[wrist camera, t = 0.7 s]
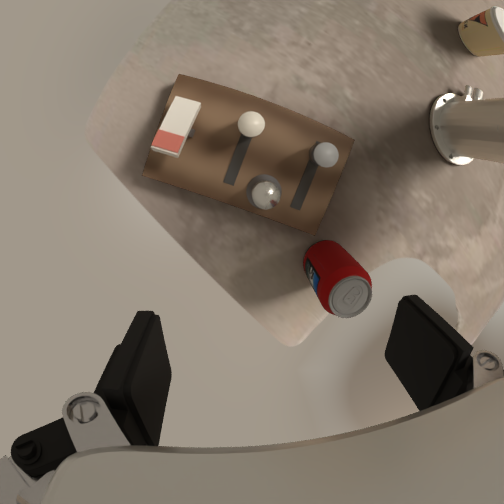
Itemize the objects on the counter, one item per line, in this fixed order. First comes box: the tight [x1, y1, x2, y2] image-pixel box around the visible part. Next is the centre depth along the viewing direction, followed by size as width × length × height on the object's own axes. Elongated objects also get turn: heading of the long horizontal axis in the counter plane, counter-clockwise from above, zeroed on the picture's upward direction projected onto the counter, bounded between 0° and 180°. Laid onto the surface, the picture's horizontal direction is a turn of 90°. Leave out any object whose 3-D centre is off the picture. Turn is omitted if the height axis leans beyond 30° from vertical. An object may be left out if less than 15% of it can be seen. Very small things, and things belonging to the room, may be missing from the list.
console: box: [142, 74, 354, 236], centre depth 34 cm, size 14×24×5 cm, turn 69°
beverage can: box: [303, 240, 372, 318], centre depth 36 cm, size 7×7×12 cm
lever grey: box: [309, 142, 339, 167], centre depth 31 cm, size 3×3×4 cm
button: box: [252, 180, 280, 209], centre depth 33 cm, size 3×3×2 cm
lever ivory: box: [238, 111, 265, 138], centre depth 30 cm, size 3×3×4 cm
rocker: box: [151, 96, 201, 158], centre depth 29 cm, size 7×3×1 cm, turn 159°
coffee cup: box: [458, 6, 504, 56], centre depth 22 cm, size 9×9×12 cm
